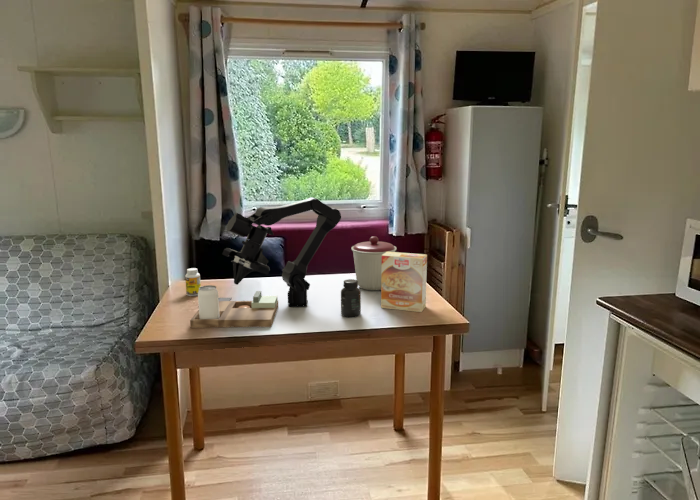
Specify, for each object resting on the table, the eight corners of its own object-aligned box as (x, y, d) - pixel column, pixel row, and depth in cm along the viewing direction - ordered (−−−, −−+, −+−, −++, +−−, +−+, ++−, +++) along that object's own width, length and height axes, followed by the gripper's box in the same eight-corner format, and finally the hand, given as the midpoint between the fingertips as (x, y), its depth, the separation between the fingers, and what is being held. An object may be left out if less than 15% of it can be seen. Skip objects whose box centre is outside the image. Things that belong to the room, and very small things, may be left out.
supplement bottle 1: (183, 295, 204) (181, 270, 201) (191, 291, 209) (190, 267, 207) (196, 297, 202) (194, 271, 200) (204, 293, 207) (202, 267, 205)
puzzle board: (278, 307, 189) (278, 300, 189) (271, 326, 170) (270, 319, 169) (206, 308, 189) (205, 301, 188) (190, 327, 169) (190, 320, 169)
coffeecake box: (380, 308, 187) (380, 255, 183) (386, 302, 194) (386, 250, 190) (421, 312, 182) (423, 258, 178) (426, 306, 189) (427, 253, 185)
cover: (277, 300, 188) (277, 290, 187) (274, 307, 180) (274, 297, 180) (255, 300, 188) (254, 290, 187) (251, 308, 180) (251, 297, 180)
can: (214, 326, 171) (212, 290, 168) (196, 325, 172) (193, 289, 169) (223, 319, 177) (221, 285, 174) (205, 318, 178) (203, 284, 176)
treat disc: (250, 310, 187) (250, 305, 186) (249, 313, 183) (248, 309, 182) (239, 310, 187) (239, 305, 186) (237, 314, 183) (237, 309, 182)
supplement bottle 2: (337, 313, 183) (337, 279, 180) (355, 310, 185) (355, 277, 183) (345, 319, 176) (345, 284, 174) (364, 316, 179) (364, 282, 177)
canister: (354, 280, 223) (354, 231, 219) (397, 282, 221) (397, 232, 216) (348, 293, 206) (348, 240, 201) (394, 294, 203) (395, 241, 199)
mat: (231, 298, 200) (231, 297, 200) (226, 306, 190) (226, 305, 190) (205, 298, 200) (205, 297, 200) (198, 307, 190) (198, 306, 190)
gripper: (287, 256, 181) (269, 298, 180) (251, 240, 191) (234, 279, 191) (266, 248, 171) (247, 292, 171) (230, 231, 182) (212, 273, 181)
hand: (235, 284), depth 179 cm, fingers closed
